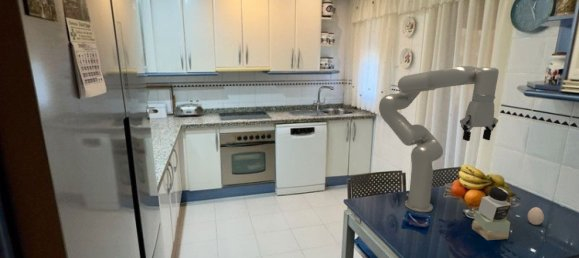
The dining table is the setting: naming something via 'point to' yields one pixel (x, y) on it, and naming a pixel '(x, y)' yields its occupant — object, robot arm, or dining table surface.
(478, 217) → the block top
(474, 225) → the block bottom
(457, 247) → the dining table surface
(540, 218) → the egg
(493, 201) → the medicine bottle
